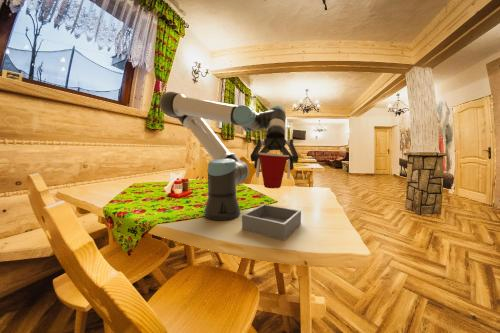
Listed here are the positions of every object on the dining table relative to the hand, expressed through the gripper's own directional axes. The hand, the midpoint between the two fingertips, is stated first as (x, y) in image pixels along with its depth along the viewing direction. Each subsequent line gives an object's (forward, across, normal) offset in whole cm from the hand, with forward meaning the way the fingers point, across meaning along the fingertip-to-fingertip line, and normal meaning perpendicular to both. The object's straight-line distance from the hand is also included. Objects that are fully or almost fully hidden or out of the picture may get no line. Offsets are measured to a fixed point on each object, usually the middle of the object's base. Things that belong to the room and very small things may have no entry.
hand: (272, 175), depth 62 cm
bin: (+11, 0, -15) cm, 19 cm away
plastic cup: (+1, 0, -5) cm, 6 cm away
